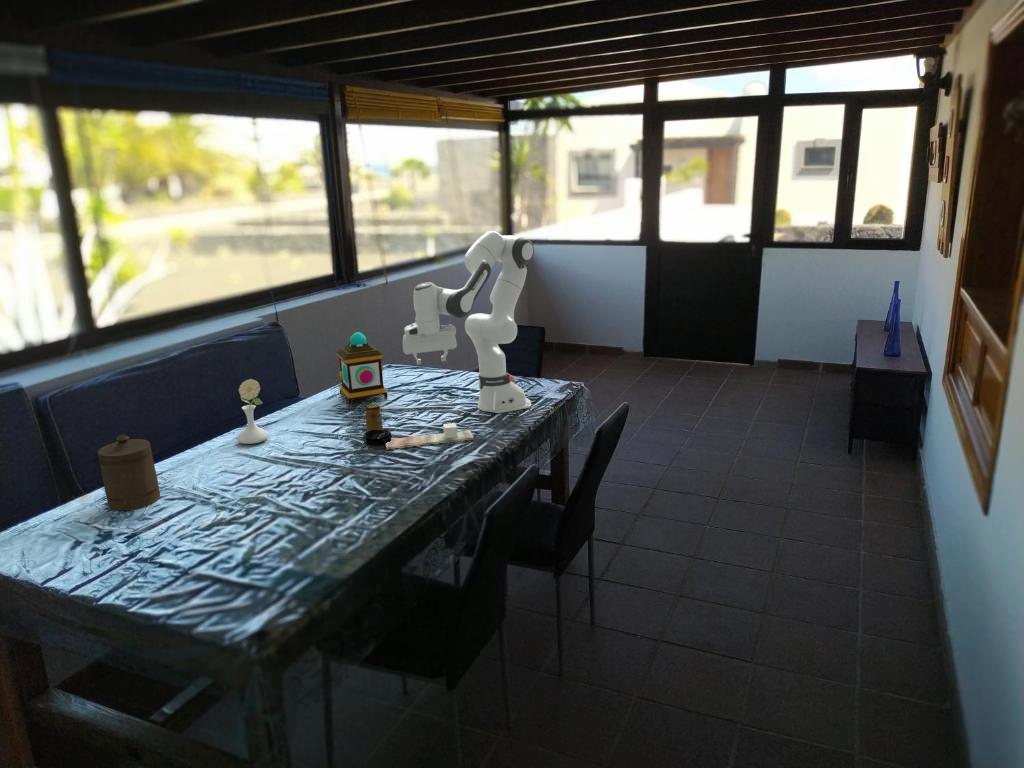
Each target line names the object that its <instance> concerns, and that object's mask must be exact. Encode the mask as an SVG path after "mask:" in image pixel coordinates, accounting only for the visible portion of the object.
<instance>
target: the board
mask: <svg viewBox="0 0 1024 768" xmlns="http://www.w3.org/2000/svg"><path fill="white" fill-rule="evenodd" d="M457 436H458V437H453V438H445V436H444V432H443V433H441V432H440V433H434V434H425V435H417V436H406V437H399V438H390V439H391V441H390V442H387V443H386V444H385V448H386V451H387V450H388V451H389V449H391V450H396V449H395V448H399V449H405V447H408V448H414V447H413V446H417V447H421V446H420V445H425V446H431V445H430V444H434V445H439V444H438V443H443V444H449V443H450V442H451V443H459V441H460V442H466V441H465V440H468V441H474V440H475V438H474V436H473V434H472V431H471V430H469V429H468V430H459V431H457ZM451 443H450V444H451Z"/></svg>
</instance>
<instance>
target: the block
mask: <svg viewBox="0 0 1024 768" xmlns="http://www.w3.org/2000/svg"><path fill="white" fill-rule="evenodd" d="M442 428H443V429H442V430H443V433H444V436H445V438H453V437H458V436H457V432H458V427H457V425H456V422H452V423H450V422H449V423H443V427H442Z"/></svg>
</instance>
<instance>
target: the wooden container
mask: <svg viewBox="0 0 1024 768" xmlns="http://www.w3.org/2000/svg"><path fill="white" fill-rule="evenodd" d="M151 446H152V445H151V442H150V441H149V440H146V439H142V438H136V439H135V438H134V439H132V438H131V439H130V436H128V435H126V434H120V435H118V436H117V437H116V441H115V442H112V443H109V444H107V445H105V446H103V447H101V448H100V449H98V451H97V455H98V461H99V465H100V470H101V471H100V472H101V475H102V476H101V477H102V482H103V487H104V492H105V496H106V501H107V506H108V508H109V509H111V510H112V511H113V510H114V511H119V512H120V511H121V510H122V511H123V512H124V510H126V511H133V510H137V509H141V507H142V508H145V507H147V506H149V504H150V505H151V503H152V504H154V503H155V502H157V501H158V500H159V499H160V497H161V491H160V486H159V481H158V475H157V470H156V467H155V462H154V458H153V457H154V456H153V452H152V447H151ZM156 500H157V501H156ZM153 502H154V503H153ZM144 506H145V507H144Z"/></svg>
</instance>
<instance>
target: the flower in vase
mask: <svg viewBox="0 0 1024 768" xmlns="http://www.w3.org/2000/svg"><path fill="white" fill-rule="evenodd" d="M260 386H261V385H260V384H259V382H258V380H255V379H252V378H249V379H246V380H245V381H243V382H241V384H240V385H239V388H238V392H239V395H240V399H241V401H242V402H245V403H247V405H243V406H242V407H241V409H242V410H243V412H244V413H245V416H246V421H247V425H246V427H245V428H244V430H242V431H241V432H240V433H239V435H238V436H237V438H236V439H237V441H238V443H240V444H243V445H244V444H245V445H253V444H258V443H261V442H264V441H265V440H267V439H268V438H269V435H270V434H269V433H268V432H267V431H266V430H264V429H263V428H261V427H259V426H257V425H256V423H255V420H254V410H255V409H256V407H257V406H259V405H262V404H264V403H263V402H262V400H261V399H260V398H259V397H258V395H259V394H260V391H261V387H260ZM251 400H252V401H251ZM250 401H251V402H250ZM253 403H254V404H253Z"/></svg>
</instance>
